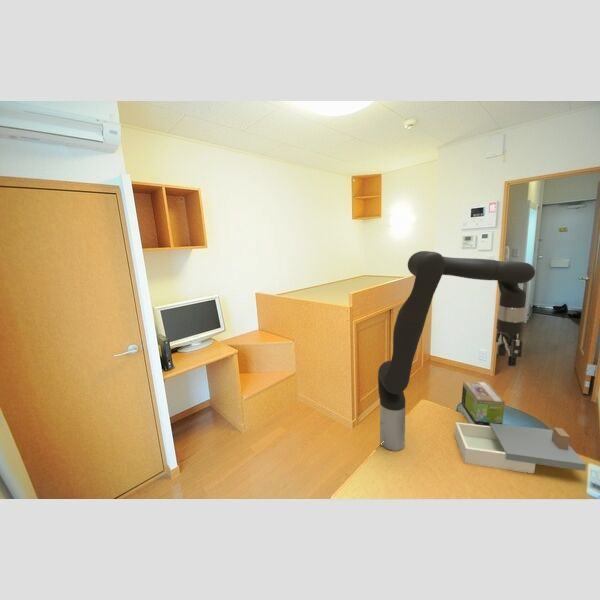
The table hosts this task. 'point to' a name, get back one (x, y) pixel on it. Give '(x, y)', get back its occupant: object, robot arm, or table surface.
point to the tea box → (481, 404)
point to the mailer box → (485, 448)
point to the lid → (538, 446)
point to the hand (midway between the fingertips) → (506, 360)
